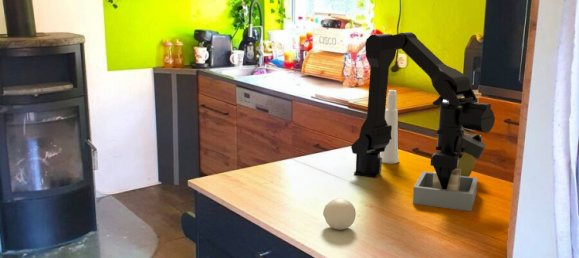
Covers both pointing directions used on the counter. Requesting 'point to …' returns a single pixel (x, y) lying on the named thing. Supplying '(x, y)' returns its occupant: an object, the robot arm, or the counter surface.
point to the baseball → (339, 213)
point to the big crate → (445, 193)
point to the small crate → (453, 181)
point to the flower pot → (466, 164)
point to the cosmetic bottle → (392, 119)
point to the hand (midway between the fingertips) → (446, 185)
